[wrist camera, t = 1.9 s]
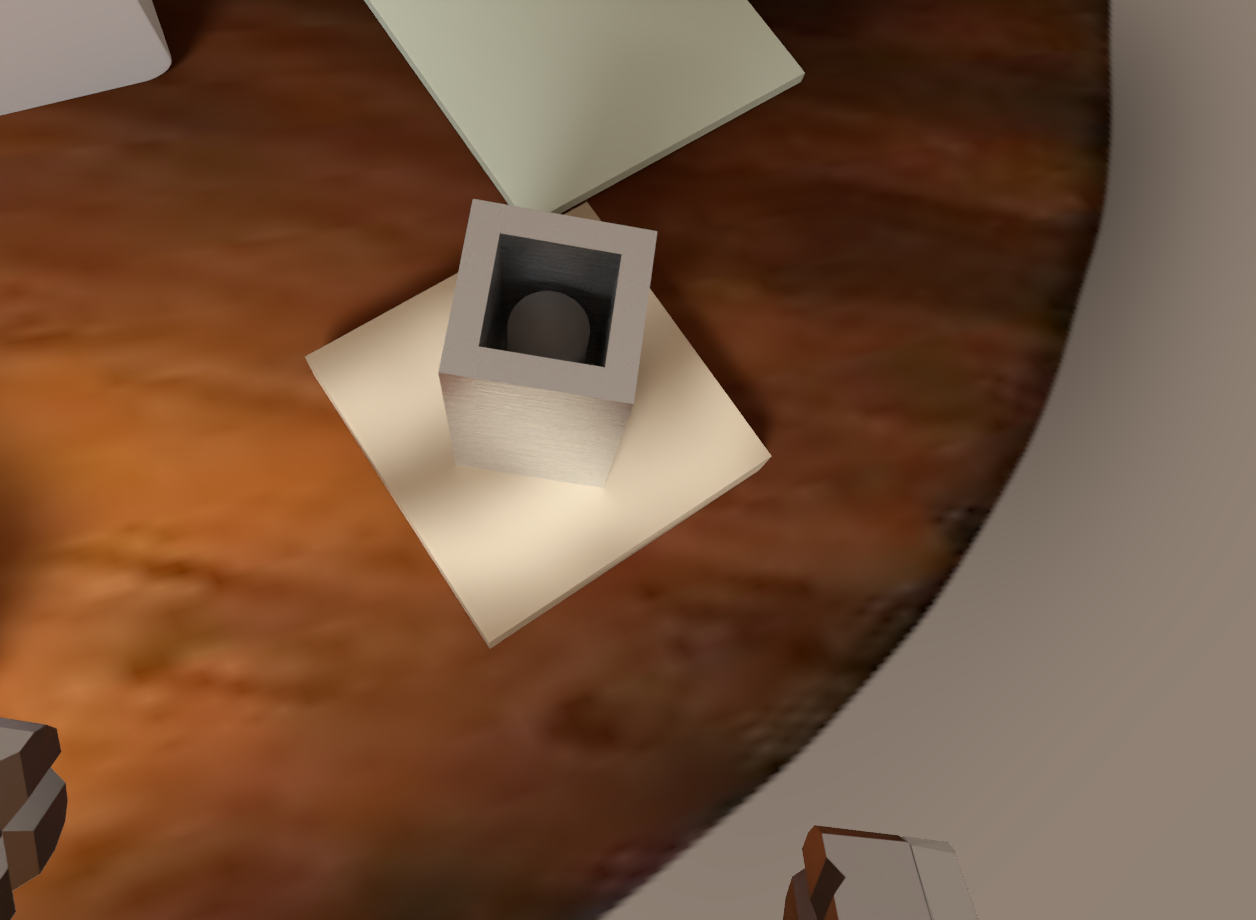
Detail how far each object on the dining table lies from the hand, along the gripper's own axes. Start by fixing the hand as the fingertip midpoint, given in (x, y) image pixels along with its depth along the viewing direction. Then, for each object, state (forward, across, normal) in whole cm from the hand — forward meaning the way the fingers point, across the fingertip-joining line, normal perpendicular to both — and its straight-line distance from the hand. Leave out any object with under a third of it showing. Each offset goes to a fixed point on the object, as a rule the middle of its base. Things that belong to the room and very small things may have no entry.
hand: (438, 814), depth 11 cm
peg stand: (+26, 0, +8) cm, 27 cm away
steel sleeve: (+25, 0, +7) cm, 26 cm away
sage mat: (+38, +2, -4) cm, 39 cm away
